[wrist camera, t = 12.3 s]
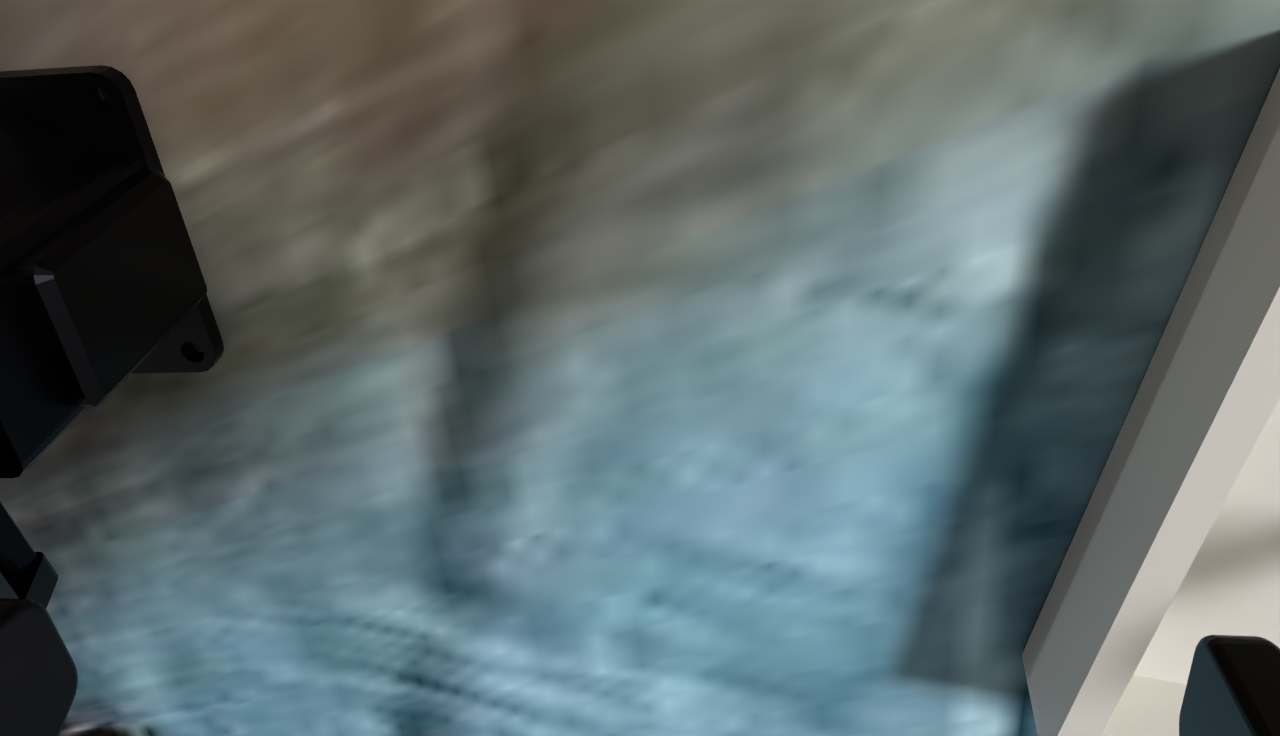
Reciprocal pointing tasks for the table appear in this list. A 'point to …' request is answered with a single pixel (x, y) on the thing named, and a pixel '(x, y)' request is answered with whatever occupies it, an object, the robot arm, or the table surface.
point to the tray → (1180, 489)
